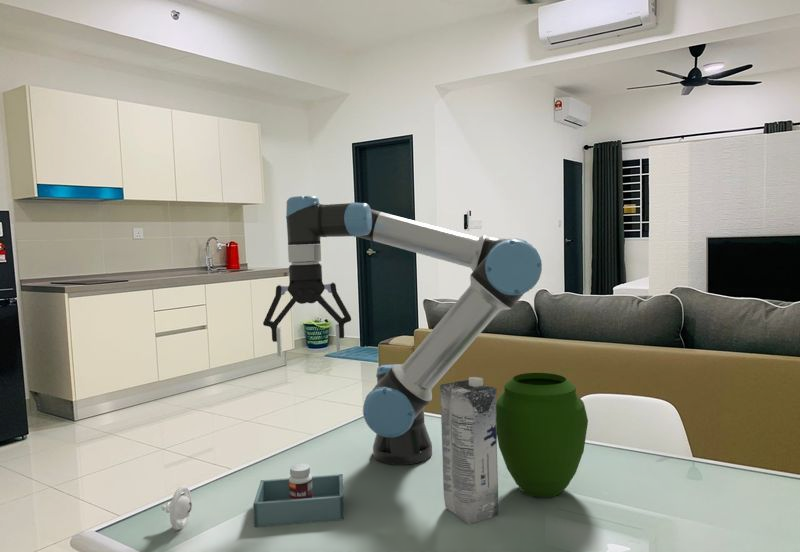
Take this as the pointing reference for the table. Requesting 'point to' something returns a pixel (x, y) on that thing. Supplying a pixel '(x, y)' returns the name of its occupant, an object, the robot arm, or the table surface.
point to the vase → (541, 432)
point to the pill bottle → (300, 482)
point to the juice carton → (469, 449)
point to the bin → (299, 502)
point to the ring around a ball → (179, 507)
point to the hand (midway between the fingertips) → (309, 353)
